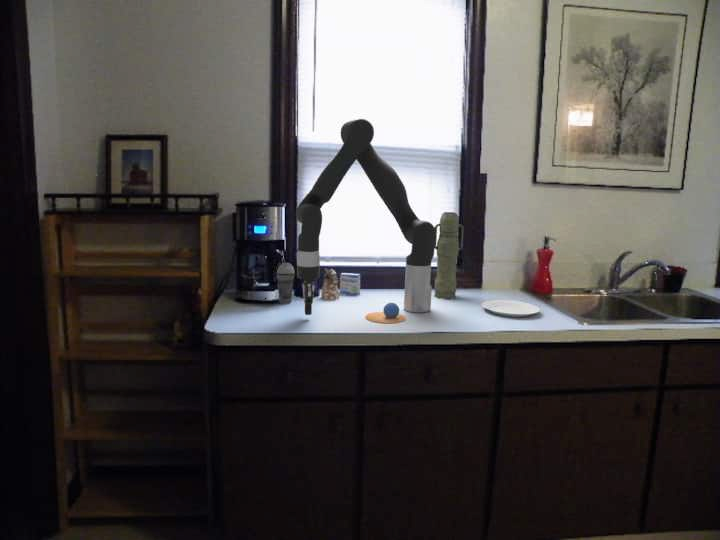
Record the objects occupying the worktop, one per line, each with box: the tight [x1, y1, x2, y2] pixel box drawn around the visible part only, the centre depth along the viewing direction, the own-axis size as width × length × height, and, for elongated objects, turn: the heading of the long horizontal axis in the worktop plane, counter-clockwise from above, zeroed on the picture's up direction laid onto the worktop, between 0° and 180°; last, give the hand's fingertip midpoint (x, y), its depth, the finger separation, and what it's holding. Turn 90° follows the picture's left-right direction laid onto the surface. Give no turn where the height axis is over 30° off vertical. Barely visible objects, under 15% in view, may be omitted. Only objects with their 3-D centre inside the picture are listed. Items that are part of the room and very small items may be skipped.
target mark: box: [365, 311, 407, 325], centre depth 176 cm, size 14×14×1 cm
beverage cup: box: [275, 250, 296, 305], centre depth 192 cm, size 7×7×20 cm
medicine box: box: [339, 272, 361, 296], centre depth 210 cm, size 8×4×9 cm, turn 80°
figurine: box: [320, 268, 340, 301], centre depth 202 cm, size 7×7×12 cm
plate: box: [481, 299, 541, 318], centre depth 189 cm, size 21×21×2 cm
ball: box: [382, 302, 400, 319], centre depth 176 cm, size 6×6×6 cm
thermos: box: [434, 211, 465, 300], centre depth 208 cm, size 9×12×35 cm
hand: (308, 314), depth 171 cm, fingers closed
